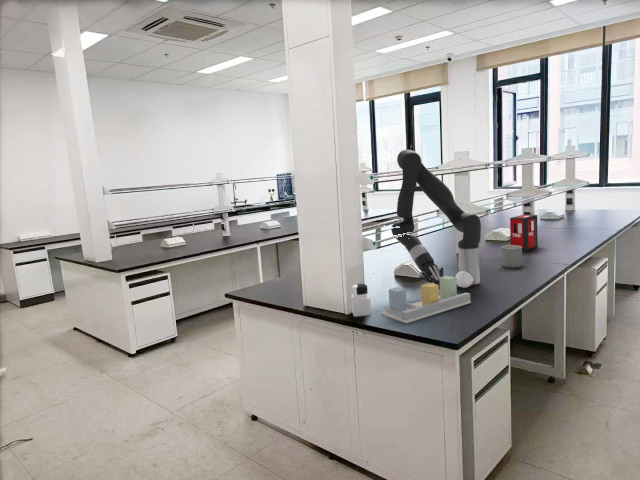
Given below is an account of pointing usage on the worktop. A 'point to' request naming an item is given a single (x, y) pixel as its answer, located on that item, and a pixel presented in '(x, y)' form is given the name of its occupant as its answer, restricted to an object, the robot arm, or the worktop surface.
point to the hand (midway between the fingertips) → (442, 288)
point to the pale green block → (447, 287)
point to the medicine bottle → (360, 300)
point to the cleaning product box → (524, 231)
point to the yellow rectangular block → (429, 293)
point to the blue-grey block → (397, 299)
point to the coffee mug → (511, 256)
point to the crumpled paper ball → (463, 279)
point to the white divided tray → (427, 308)
